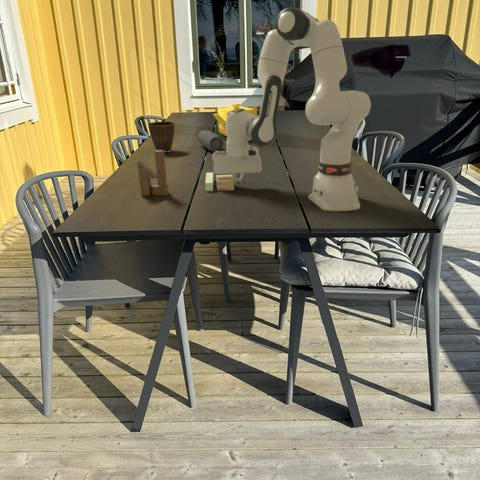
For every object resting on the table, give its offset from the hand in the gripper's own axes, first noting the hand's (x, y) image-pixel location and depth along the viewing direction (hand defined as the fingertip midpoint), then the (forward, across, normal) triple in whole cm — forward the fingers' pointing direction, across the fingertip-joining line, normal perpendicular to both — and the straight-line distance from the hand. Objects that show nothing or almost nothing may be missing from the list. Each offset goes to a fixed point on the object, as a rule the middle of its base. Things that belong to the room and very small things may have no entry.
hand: (238, 183), depth 181 cm
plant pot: (+2, -40, +74) cm, 84 cm away
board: (+2, -12, +4) cm, 13 cm away
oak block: (+2, -6, 0) cm, 6 cm away
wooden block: (+2, -34, -6) cm, 35 cm away
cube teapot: (+2, +3, +110) cm, 110 cm away
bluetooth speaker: (+2, -13, +76) cm, 77 cm away
